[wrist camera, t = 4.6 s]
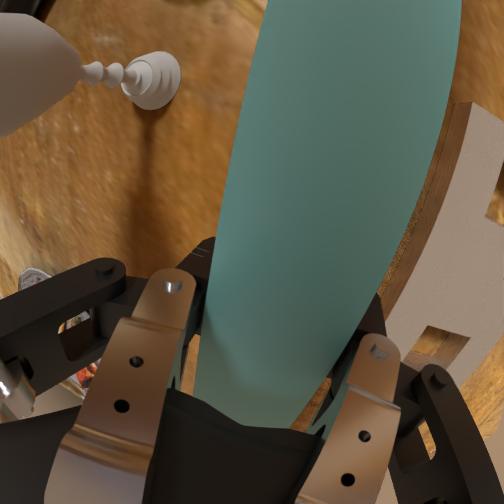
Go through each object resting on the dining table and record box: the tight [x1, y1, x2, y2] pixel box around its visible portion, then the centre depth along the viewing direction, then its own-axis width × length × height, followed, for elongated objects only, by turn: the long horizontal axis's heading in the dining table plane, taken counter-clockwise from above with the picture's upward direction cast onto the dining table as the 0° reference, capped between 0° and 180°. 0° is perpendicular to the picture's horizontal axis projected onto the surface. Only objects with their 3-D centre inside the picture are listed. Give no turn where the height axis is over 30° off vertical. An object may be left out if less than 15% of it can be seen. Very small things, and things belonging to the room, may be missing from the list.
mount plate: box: [381, 102, 504, 388], centre depth 17 cm, size 22×12×3 cm, turn 167°
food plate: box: [18, 267, 101, 391], centre depth 36 cm, size 25×23×4 cm
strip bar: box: [193, 0, 462, 429], centre depth 10 cm, size 20×4×5 cm, turn 167°
